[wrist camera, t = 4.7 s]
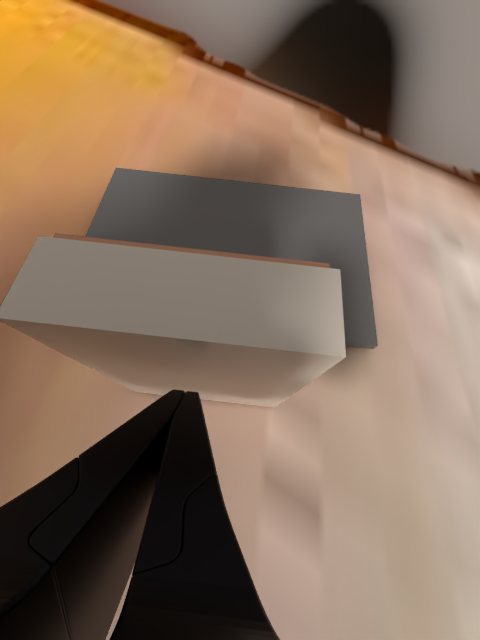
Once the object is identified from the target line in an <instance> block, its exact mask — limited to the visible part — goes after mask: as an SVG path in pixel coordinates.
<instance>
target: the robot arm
mask: <svg viewBox="0 0 480 640" xmlns="http://www.w3.org/2000/svg"><path fill="white" fill-rule="evenodd" d="M134 563H135V565H134ZM133 566H134V569H133ZM132 569H133V573H132V578H131V581H130V585H129V588H128V592H127V595H126V599H125V602H124V605H123V608H122V611H121V614H120V617H119V619H118V622H117V624H116V627H115V629H114V631H113V633H112V636H111V638H110V640H280V639H279V637H278V636H277V634H276V632H275V631H274V629H273V627H272V625H271V623H270V621H269V619H268V617H267V615H266V613H265V610H264V608H263V606H262V603H261V601H260V599H259V596H258V594H257V591H256V589H255V586H254V583H253V581H252V578H251V576H250V573H249V570H248V568H247V565H246V562H245V560H244V557H243V554H242V552H241V549H240V546H239V544H238V541H237V539H236V536H235V533H234V531H233V528H232V525H231V522H230V519H229V516H228V513H227V510H226V507H225V504H224V500H223V496H222V492H221V488H220V484H219V480H218V475H217V472H216V467H215V463H214V458H213V454H212V449H211V445H210V440H209V436H208V432H207V427H206V423H205V418H204V414H203V409H202V405H201V400H200V396H199V393H198V392H193V391H186V392H185V391H184V390H176V389H173V390H171V391H169V392H168V393H166V394H165V395H164V396H162V397H161V398H159V399H158V400H157V401H155V402H154V403H152V404H151V405H150V406H148V407H147V408H145V409H144V410H142V411H141V412H140V413H138V414H137V415H135V416H134V417H133V418H131V419H130V420H128V421H127V422H126V423H124V424H123V425H121V426H120V427H118V428H117V429H116V430H114V431H113V432H111V433H110V434H109V435H107V436H106V437H104V438H103V439H102V440H100V441H99V442H97V443H96V444H94V445H93V446H92V447H90V448H89V449H87V450H86V451H85V452H83V453H82V454H80V455H79V458H78V457H76V458H75V459H73V460H72V461H70V462H69V463H67V464H66V465H65V466H63V467H62V468H60V469H59V470H57V471H56V472H54V473H53V474H51V475H50V476H49V477H47V478H46V479H44V480H43V481H41V482H40V483H38V484H37V485H35V486H33V487H32V488H30V489H29V490H27V491H25V492H24V493H22V494H21V495H19V496H18V497H16V498H14V499H13V500H11V501H10V502H8V503H6V504H5V505H3V506H1V507H0V640H105V639H106V637H107V634H108V631H109V629H110V626H111V624H112V621H113V618H114V616H115V613H116V611H117V608H118V605H119V603H120V600H121V597H122V595H123V592H124V590H125V587H126V584H127V582H128V579H129V577H130V574H131V571H132Z"/></svg>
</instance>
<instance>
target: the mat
mask: <svg viewBox="0 0 480 640" xmlns="http://www.w3.org/2000/svg"><path fill="white" fill-rule="evenodd" d="M85 237H92V238H101V239H110V240H119V241H128V242H137V243H146V244H155V245H164V246H173V247H182V248H191V249H200V250H209V251H219V252H228V253H237V254H246V255H255V256H264V257H273V258H282V259H291V260H300V261H309V262H318V263H327V264H330V268H333V269H340V273H341V288H342V303H343V318H344V334H345V346H353V347H362V348H371V349H373V348H375V347H376V346H378V344H377V335H376V327H375V318H374V310H373V301H372V293H371V284H370V276H369V267H368V259H367V250H366V242H365V233H364V225H363V216H362V208H361V200H360V195H359V194H350V193H341V192H332V191H323V190H313V189H304V188H295V187H286V186H277V185H268V184H259V183H250V182H241V181H232V180H223V179H214V178H205V177H195V176H186V175H177V174H168V173H159V172H150V171H141V170H132V169H123V168H116V169H115V171H114V173H113V176H112V178H111V180H110V182H109V185H108V187H107V189H106V191H105V194H104V196H103V198H102V200H101V203H100V205H99V207H98V209H97V212H96V214H95V216H94V218H93V221H92V223H91V225H90V227H89V230H88V232H87V234H86V236H85Z"/></svg>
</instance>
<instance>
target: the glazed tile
mask: <svg viewBox="0 0 480 640" xmlns="http://www.w3.org/2000/svg"><path fill="white" fill-rule="evenodd" d="M0 321H2V322H4V323H5V324H7V325H9V326H11V327H13V328H15V329H17V330H19V331H21V332H23V333H24V334H26V335H28V336H30V337H32V338H34V339H36V340H38V341H40V342H42V343H43V344H45V345H47V346H49V347H51V348H53V349H55V350H57V351H59V352H61V353H62V354H64V355H66V356H68V357H70V358H72V359H74V360H76V361H78V362H80V363H81V364H83V365H85V366H87V367H89V368H91V369H93V370H95V371H97V372H99V373H100V374H102V375H104V376H106V377H108V378H110V379H112V380H114V381H116V382H118V383H119V384H121V385H123V386H125V387H127V388H129V389H131V390H133V391H135V392H142V393H151V394H160V395H165V394H166V393H168V392H169V391H171V390H173V389H176V390H184V391H185V392H186V391H193V392H198V393H199V396H200V399H204V400H213V401H222V402H230V403H239V404H248V405H257V406H266V407H276V406H277V405H279V404H280V403H282V402H283V401H285V400H286V399H287V398H289V397H290V396H292V395H293V394H294V393H296V392H297V391H299V390H300V389H302V388H303V387H304V386H306V385H307V384H309V383H310V382H312V381H313V380H314V379H316V378H317V377H319V376H320V375H321V374H323V373H324V372H326V371H327V370H329V369H330V368H331V367H333V366H334V365H336V364H337V363H339V362H340V361H341V360H343V359H344V358H346V349H345V334H344V318H343V303H342V288H341V273H340V269H333V268H330V264H327V263H318V262H309V261H300V260H291V259H282V258H273V257H264V256H255V255H246V254H237V253H228V252H219V251H209V250H200V249H191V248H182V247H173V246H164V245H155V244H146V243H137V242H128V241H119V240H110V239H101V238H92V237H83V236H74V235H65V234H56V233H55V235H54V237H44V236H38V238H37V240H36V242H35V244H34V246H33V247H32V249H31V251H30V253H29V255H28V257H27V259H26V260H25V262H24V264H23V266H22V268H21V270H20V271H19V273H18V275H17V277H16V279H15V281H14V283H13V284H12V286H11V288H10V290H9V292H8V294H7V295H6V297H5V299H4V301H3V303H2V305H1V306H0Z"/></svg>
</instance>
